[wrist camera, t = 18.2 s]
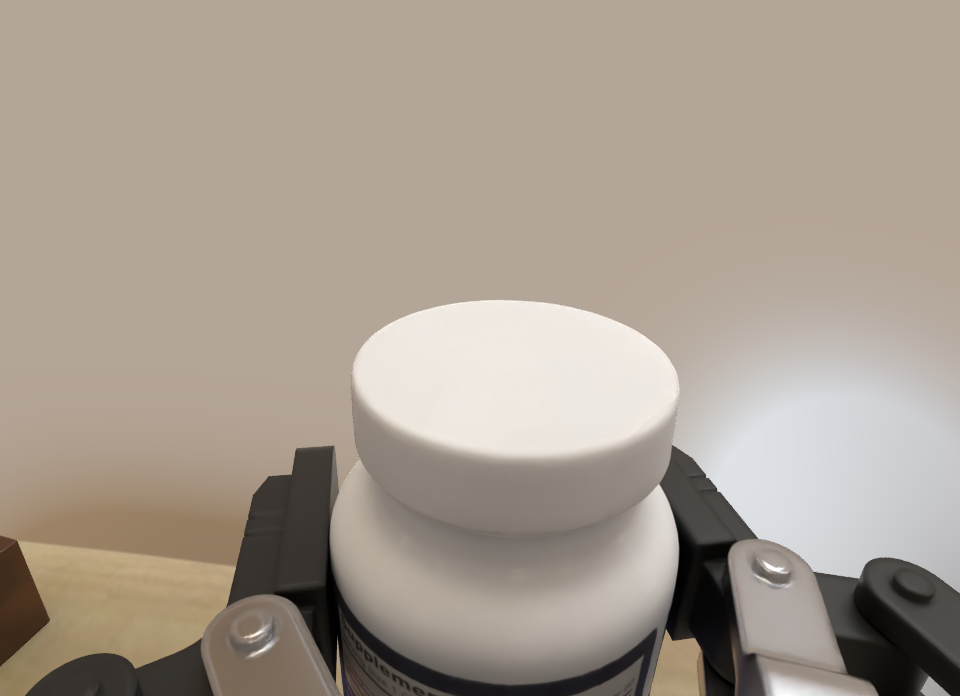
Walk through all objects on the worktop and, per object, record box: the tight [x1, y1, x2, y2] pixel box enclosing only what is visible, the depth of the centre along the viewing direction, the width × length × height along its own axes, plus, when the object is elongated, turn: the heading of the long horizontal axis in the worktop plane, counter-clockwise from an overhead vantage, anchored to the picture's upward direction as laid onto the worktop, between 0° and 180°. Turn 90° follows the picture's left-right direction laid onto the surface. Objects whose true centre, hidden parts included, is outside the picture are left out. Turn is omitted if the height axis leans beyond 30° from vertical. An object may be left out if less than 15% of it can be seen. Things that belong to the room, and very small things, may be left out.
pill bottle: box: [329, 300, 680, 696], centre depth 11 cm, size 6×6×10 cm
